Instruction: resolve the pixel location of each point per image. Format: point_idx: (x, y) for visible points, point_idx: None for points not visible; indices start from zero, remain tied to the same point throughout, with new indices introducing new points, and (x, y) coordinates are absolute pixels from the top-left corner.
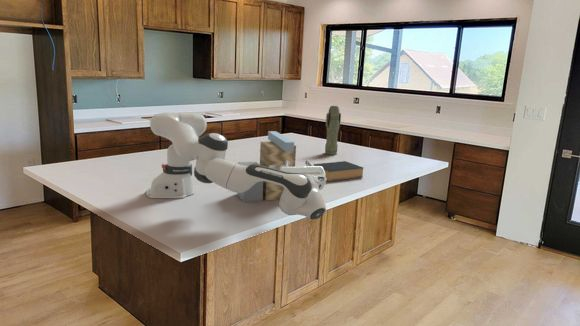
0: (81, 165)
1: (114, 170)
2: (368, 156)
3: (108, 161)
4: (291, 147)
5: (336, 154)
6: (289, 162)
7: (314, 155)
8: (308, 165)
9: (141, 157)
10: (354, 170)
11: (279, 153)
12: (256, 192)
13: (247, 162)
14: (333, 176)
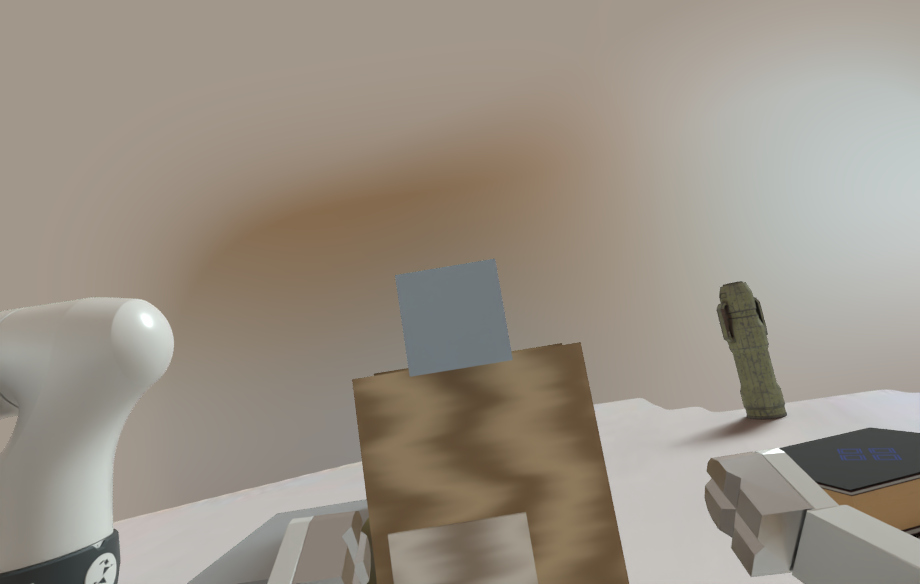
0: None
1: (126, 548)
2: (906, 405)
3: (181, 513)
4: (475, 321)
5: (786, 414)
6: (331, 563)
7: (717, 427)
8: (808, 576)
9: (271, 491)
10: None
11: (455, 422)
12: None
13: (324, 509)
14: (882, 516)
